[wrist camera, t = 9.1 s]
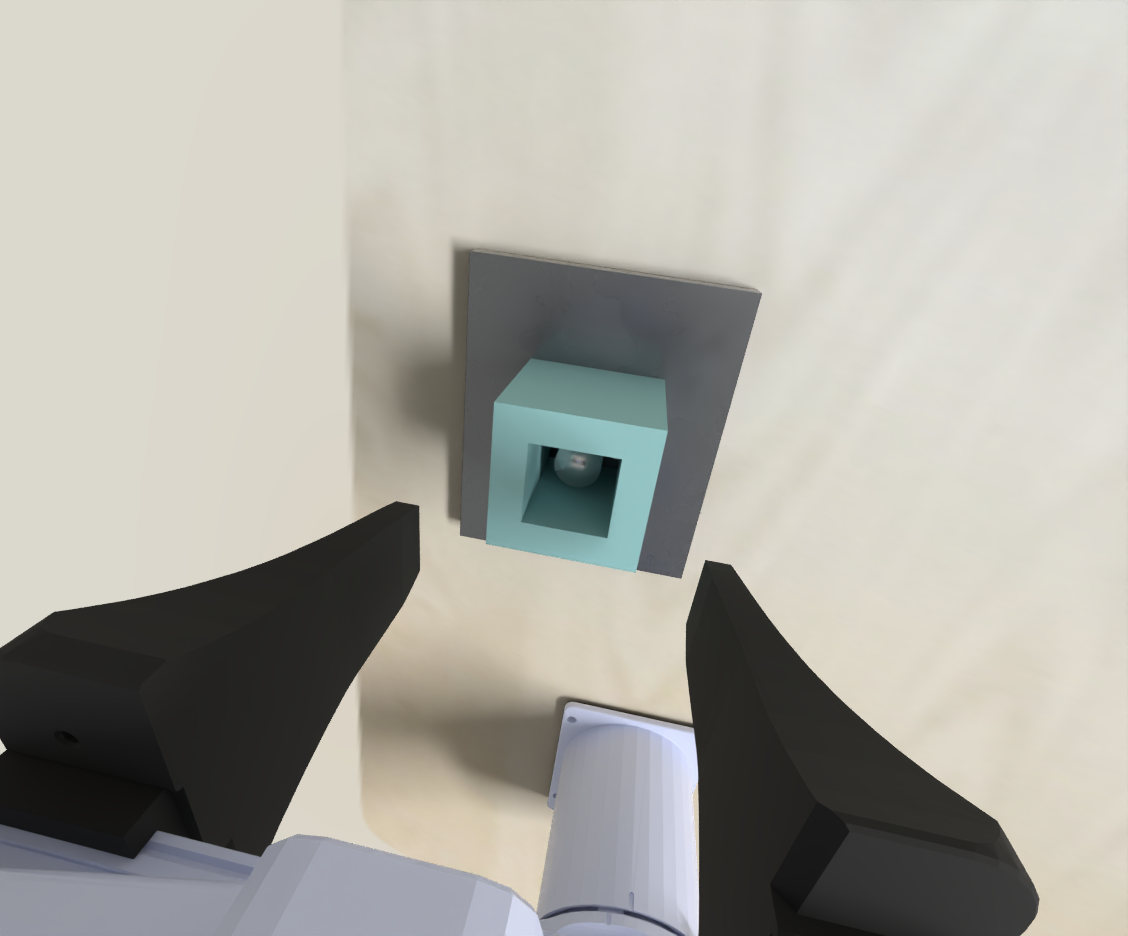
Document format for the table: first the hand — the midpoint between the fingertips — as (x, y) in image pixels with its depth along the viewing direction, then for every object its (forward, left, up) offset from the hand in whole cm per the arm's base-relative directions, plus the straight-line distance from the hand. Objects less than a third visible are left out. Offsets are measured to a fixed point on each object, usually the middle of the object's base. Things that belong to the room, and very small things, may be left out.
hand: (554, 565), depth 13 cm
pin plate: (0, 0, -9) cm, 9 cm away
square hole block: (0, 0, -8) cm, 8 cm away
